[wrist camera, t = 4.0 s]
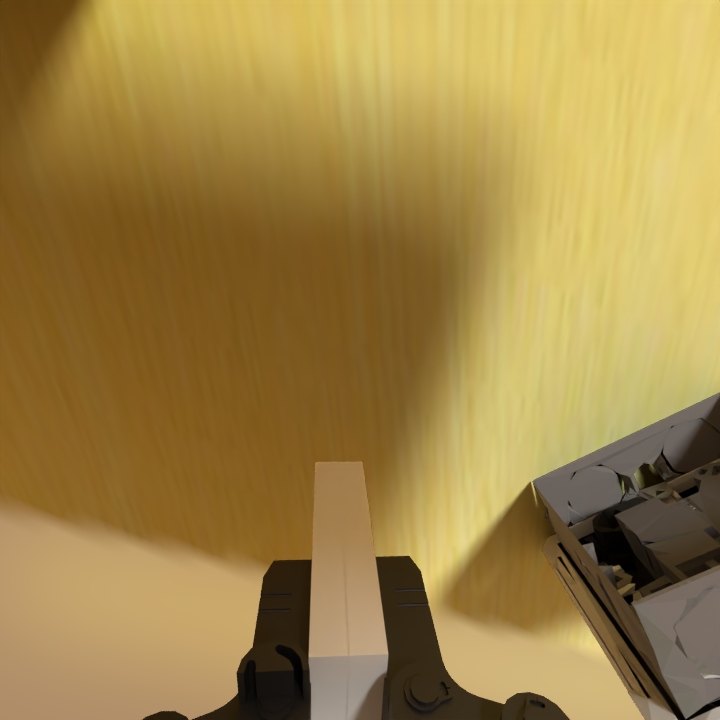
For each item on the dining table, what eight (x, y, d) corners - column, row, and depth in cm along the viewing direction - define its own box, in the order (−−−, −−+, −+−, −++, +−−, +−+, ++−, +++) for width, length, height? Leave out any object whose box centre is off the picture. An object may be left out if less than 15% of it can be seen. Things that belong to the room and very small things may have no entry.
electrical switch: (542, 556, 20) (706, 836, 11) (491, 455, 18) (629, 679, 9) (765, 455, 19) (1154, 671, 10) (728, 341, 17) (1138, 469, 8)
